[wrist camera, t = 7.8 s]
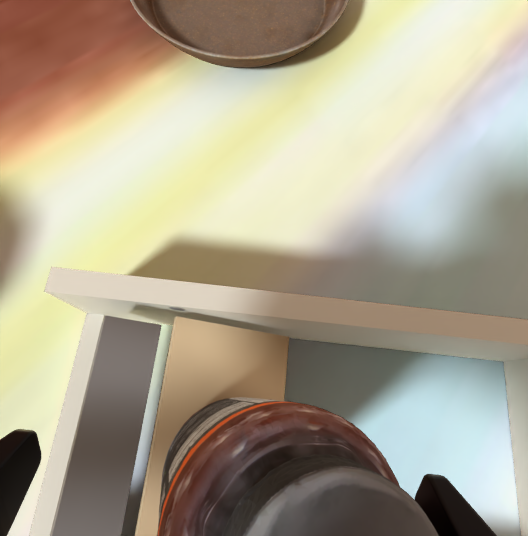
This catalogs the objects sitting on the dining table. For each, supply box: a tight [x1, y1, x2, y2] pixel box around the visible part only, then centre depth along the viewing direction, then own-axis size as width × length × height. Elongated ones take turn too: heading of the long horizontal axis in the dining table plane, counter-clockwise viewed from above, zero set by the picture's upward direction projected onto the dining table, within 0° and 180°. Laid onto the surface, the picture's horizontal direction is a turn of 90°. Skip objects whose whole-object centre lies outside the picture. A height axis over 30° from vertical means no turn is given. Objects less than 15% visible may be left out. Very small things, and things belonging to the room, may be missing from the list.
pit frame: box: [29, 267, 528, 536], centre depth 18 cm, size 15×26×6 cm, turn 84°
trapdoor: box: [50, 316, 289, 536], centre depth 17 cm, size 12×9×3 cm
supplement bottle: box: [157, 397, 439, 536], centre depth 11 cm, size 6×6×11 cm
